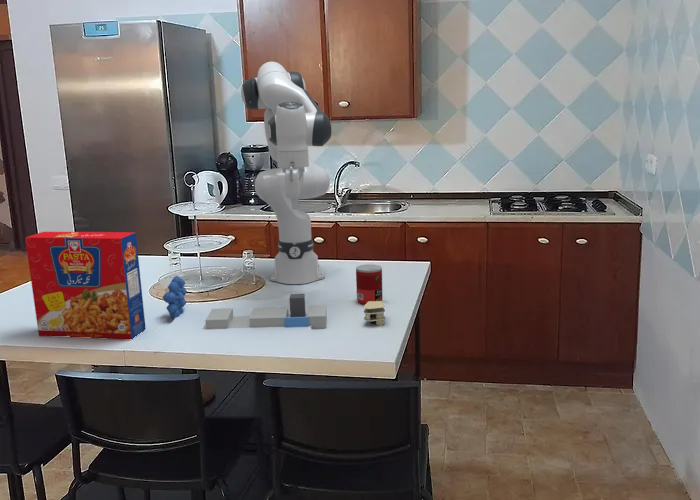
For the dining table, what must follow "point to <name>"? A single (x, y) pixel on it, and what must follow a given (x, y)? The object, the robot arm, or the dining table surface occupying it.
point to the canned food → (369, 283)
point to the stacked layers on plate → (374, 312)
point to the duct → (266, 318)
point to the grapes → (175, 297)
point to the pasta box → (86, 284)
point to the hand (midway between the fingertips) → (295, 208)
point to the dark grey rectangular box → (297, 305)
